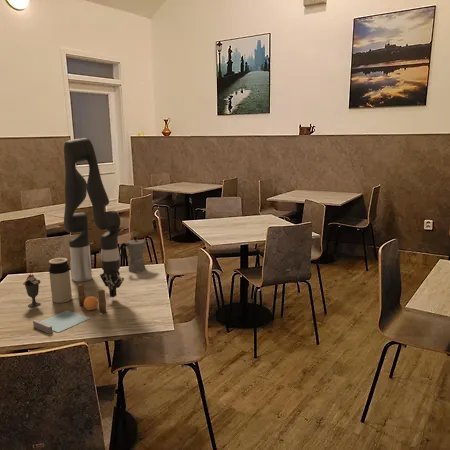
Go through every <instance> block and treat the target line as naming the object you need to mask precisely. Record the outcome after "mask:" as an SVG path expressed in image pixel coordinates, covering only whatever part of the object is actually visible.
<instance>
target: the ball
mask: <svg viewBox="0 0 450 450" xmlns="http://www.w3.org/2000/svg"><path fill="white" fill-rule="evenodd" d="M85 298H86V299H85V300H84V306H83V307H84V308H85V310H87V311H95V309H96V308H97V307H99V299H98V298H97V297H95V296H92V295H91V296H87V297H85Z"/></svg>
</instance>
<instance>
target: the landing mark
mask: <svg viewBox="0 0 450 450" xmlns="http://www.w3.org/2000/svg"><path fill="white" fill-rule="evenodd" d="M90 319H91V318H90V317H88V316H84V315H82V314H79V313H76V312H73V311H70V310H65V311H63V312H60V313H57V314H55V315H53V316H50V317H48V318H45V319H42V320H39V321H40V322H43V323H45V324H48V325H50V326H52V332H55V333H57V334H58V333H60V332H63V331H65V330H68V329H69V328H73V327H75V326H77V325H79V324H81V323H83V322H86V321H88V320H90Z"/></svg>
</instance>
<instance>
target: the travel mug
mask: <svg viewBox="0 0 450 450" xmlns="http://www.w3.org/2000/svg"><path fill="white" fill-rule="evenodd" d="M48 264H49V267H48V272H49V282H50V291H51V299H52V302H53V303H57V304H60V303H61V304H63V303H67V302H69V301H71V300H72V299H73V296H72V283H71V271H70V265H69V264H68V258H67V257H55V258H52V259H50V260H48Z"/></svg>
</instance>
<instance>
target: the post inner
mask: <svg viewBox="0 0 450 450" xmlns="http://www.w3.org/2000/svg"><path fill="white" fill-rule="evenodd" d="M77 291H78V300H79V301H78V303H79V304H78V305H79V307H84V300H85V299H86V298H87V297H86V289H85V284H84V283H80V284H78V285H77Z"/></svg>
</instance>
